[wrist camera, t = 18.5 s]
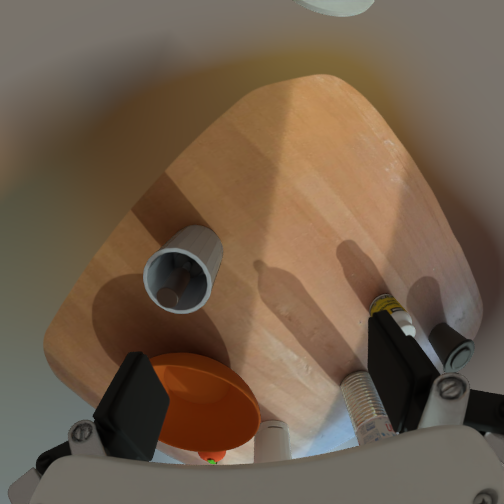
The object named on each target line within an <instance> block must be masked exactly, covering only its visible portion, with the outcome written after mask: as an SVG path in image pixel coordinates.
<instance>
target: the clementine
mask: <svg viewBox="0 0 504 504" xmlns="http://www.w3.org/2000/svg"><path fill="white" fill-rule="evenodd" d="M198 454H199V456H200V457H201V458H202V459H203V460H205V461H207V462H209V463H211V464H217V461H220V460H221V459H223V457H224V456H225V454H226V451H220V452H198ZM215 462H216V463H215Z"/></svg>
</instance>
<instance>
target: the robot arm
mask: <svg viewBox="0 0 504 504" xmlns="http://www.w3.org/2000/svg"><path fill="white" fill-rule="evenodd" d="M368 372H369V375H370V377H371V379H372V382H373V384H374V386H375V388H376V390H377V393H378V395H379V397H380V400H381V402H382V404H383V407H384V409H385V411H386V414H387V416H388V418H389V421H390V423H391V425H392V428H393V430H394V432H395V433H396V432H399V434H398V435H395V436H391V437H388V438H384V439H381V440H378V441H374V442H371V443H367V444H363V445H360V446H356V447H352V448H347V449H344V450H339V451H335V452H330V453H325V454H320V455H315V456H309V457H303V458H297V459H290V460H283V461H274V462H265V463H253V464H237V465H184V464H166V463H155V462H149V461H151V460H152V458H153V455H154V452H155V449H156V445H157V442H158V439H159V435H160V432H161V429H162V426H163V423H164V420H165V416H166V413H167V410H168V407H169V404H170V398H169V395H168V394H167V392H166V390H165V388H164V387H163V385H162V383H161V381H160V379H159V377H158V376H157V374H156V372H155V370H154V368H153V366H152V364H151V362H150V360H149V358H148V357H147V355H145V354H143V352H129V353H128V354H127V356H126V358H125V360H124V361H123V363H122V365H121V366H120V368H119V370H118V371H117V373H116V375H115V377H114V378H113V380H112V382H111V384H110V385H109V387H108V389H107V391H106V392H105V394H104V396H103V398H102V400H101V401H100V403H99V405H98V407H97V409H96V410H95V412H94V414H93V417H94V419H95V420H94V422H92V421H90V420H81V421H78V422H77V423H75V424H74V425H73V426H72V427H71V428H70V430H69V432H68V441H66V442H64V443H63V444H60V445H58V446H57V447H54V448H52V449H50V450H48V451H46V452H44V453H42V454H41V455H40V456H39V457H38V459H37V461H36V469H35V468H31V469H30V470H29V471H28V472H26V473H25V474H24V475H23V476H21V477H20V478H19V479H18V480H17V481H15V482H14V483H13V484H12V485H11V486H10V487H9V489H8V497H9V499H10V501H11V503H12V504H504V468H503V466H502V464H501V462H502V463H503V464H504V395H501V394H495V393H489V392H483V391H478V390H472V389H470V384H469V381H468V380H467V378H466V377H465V376H463V375H461V374H459V373H455V372H449V373H444V374H442V375H440V373H439V372H438V370H437V369H436V367H435V366H434V365H433V363H432V362H431V360H430V359H429V358H428V356H427V355H426V354H425V352H424V351H423V350H422V348H421V347H420V345H419V344H418V343H417V341H416V340H415V339H414V338H413V337H412V336H411V335H407V336H406V334H405V333H404V332H403V330H402V329H401V328H400V326H399V325H398V324H397V322H396V321H395V320H394V318H393V317H392V316H391V315H390V313H389V312H388V311H387V310H382V311H378V312H374V313H373V314H372V317H369V319H368ZM475 496H476V497H475Z"/></svg>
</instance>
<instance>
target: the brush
mask: <svg viewBox="0 0 504 504" xmlns="http://www.w3.org/2000/svg"><path fill="white" fill-rule="evenodd" d="M174 265H175V269H174V270H173V271H172V273H171V274H170V275H169V277H168V278H167V279H166V281H165V282H164V283H163V285H162V286H161V287H160V289H159V290H158V292H157V295H156V297H157V301H158V303H159V304H160V305H161V306H163V307H165V308H173V307H175V306H176V305H177V304H178V302H179V300H180V298H181V296H182V294H183V292H184V291H185V289H186V287H187V285H188V283H189V281H190V278H195V277H197V276H198V275H199V274H200V273H201V272H202V270H203V269H202V267H201V266H200V265H199V264H198V263H197V262H196V260H195V259H193V258H191V257H189V256H188V255H186V254H182V253H179V254H178V255H177V256H176V258H175V261H174Z"/></svg>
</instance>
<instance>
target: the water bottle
mask: <svg viewBox="0 0 504 504" xmlns="http://www.w3.org/2000/svg"><path fill="white" fill-rule="evenodd" d="M341 391H342V395H343V398H344V401H345V404H346V407H347V410H348V413H349V416H350V420H351V423H352V426H353V429H354V433H355V435H356V437H357V440H358V443H359V446H360V445H363V444H367V443H371V442H374V441H378V440H381V439H384V438H388V437H391V436H395V435H397V434H396V433H395V432H394V430H393V428H392V425H391V423H390V421H389V418H388V416H387V414H386V411H385V409H384V407H383V404H382V402H381V400H380V397H379V395H378V393H377V390H376V388H375V386H374V384H373V382H372V379H371V377H370V375H369V373H367V372H365V371H356V372H353V373H351V374H349V375H347V376H346V377H345V378H344V379H343V381H342V383H341Z"/></svg>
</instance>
